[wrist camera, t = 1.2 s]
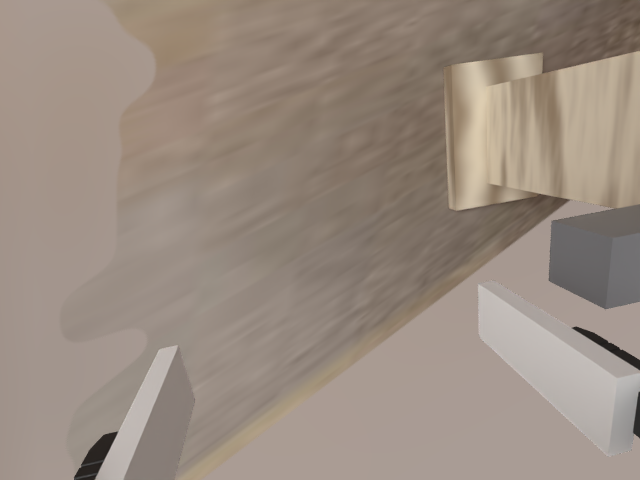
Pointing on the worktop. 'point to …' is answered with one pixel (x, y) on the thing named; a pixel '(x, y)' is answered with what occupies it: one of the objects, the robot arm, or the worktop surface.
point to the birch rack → (543, 131)
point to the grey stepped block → (598, 256)
